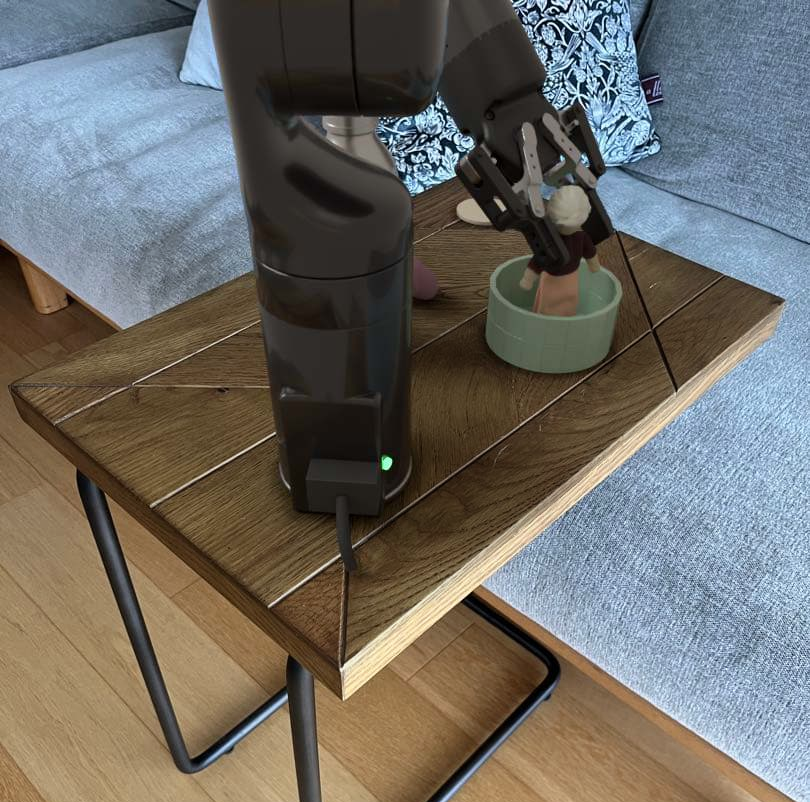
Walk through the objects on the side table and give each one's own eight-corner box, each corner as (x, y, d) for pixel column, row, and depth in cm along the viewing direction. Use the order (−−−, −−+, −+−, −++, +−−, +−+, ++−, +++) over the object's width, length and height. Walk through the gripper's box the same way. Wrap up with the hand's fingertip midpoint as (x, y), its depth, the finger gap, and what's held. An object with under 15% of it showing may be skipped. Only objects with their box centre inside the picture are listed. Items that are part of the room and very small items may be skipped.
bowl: (616, 377, 67) (628, 323, 63) (484, 369, 67) (489, 315, 64) (605, 308, 74) (615, 256, 71) (486, 302, 75) (491, 250, 71)
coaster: (512, 226, 85) (512, 223, 85) (455, 224, 86) (455, 220, 85) (512, 202, 90) (512, 198, 89) (457, 199, 90) (457, 196, 90)
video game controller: (332, 301, 78) (309, 252, 71) (353, 262, 79) (332, 211, 72) (424, 327, 74) (409, 279, 68) (445, 287, 76) (432, 236, 69)
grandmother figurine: (561, 309, 73) (584, 166, 64) (594, 327, 71) (623, 182, 62) (501, 340, 70) (516, 194, 60) (534, 360, 68) (554, 212, 58)
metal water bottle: (304, 348, 69) (280, 92, 55) (370, 324, 72) (363, 74, 58) (346, 385, 66) (332, 121, 51) (413, 357, 68) (418, 100, 54)
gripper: (439, 37, 54) (562, 265, 57) (564, -3, 61) (667, 201, 64) (383, 104, 60) (496, 307, 63) (502, 60, 68) (599, 243, 71)
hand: (582, 252), depth 64 cm, fingers closed on grandmother figurine, 5 cm apart
